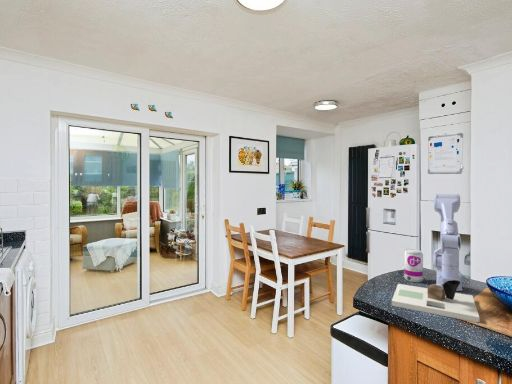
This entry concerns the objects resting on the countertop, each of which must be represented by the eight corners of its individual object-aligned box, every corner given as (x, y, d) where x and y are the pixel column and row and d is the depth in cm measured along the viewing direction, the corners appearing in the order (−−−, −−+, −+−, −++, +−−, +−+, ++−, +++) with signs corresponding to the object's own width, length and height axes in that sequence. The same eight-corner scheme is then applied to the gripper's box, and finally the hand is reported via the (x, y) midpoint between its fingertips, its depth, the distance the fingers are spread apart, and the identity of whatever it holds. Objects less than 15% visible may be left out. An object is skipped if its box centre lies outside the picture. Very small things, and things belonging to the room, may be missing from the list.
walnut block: (445, 297, 118) (445, 287, 118) (441, 301, 114) (441, 290, 114) (431, 294, 121) (431, 284, 121) (427, 297, 118) (427, 286, 118)
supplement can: (422, 283, 140) (422, 253, 140) (403, 281, 144) (403, 251, 144) (423, 279, 147) (423, 250, 146) (405, 276, 151) (405, 248, 151)
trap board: (472, 300, 120) (472, 295, 120) (479, 322, 101) (479, 317, 101) (397, 287, 135) (398, 283, 135) (391, 305, 115) (391, 300, 115)
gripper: (448, 259, 121) (448, 291, 122) (429, 265, 114) (429, 298, 114) (467, 263, 115) (467, 297, 116) (448, 269, 108) (448, 305, 108)
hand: (449, 298), depth 115 cm, fingers closed
